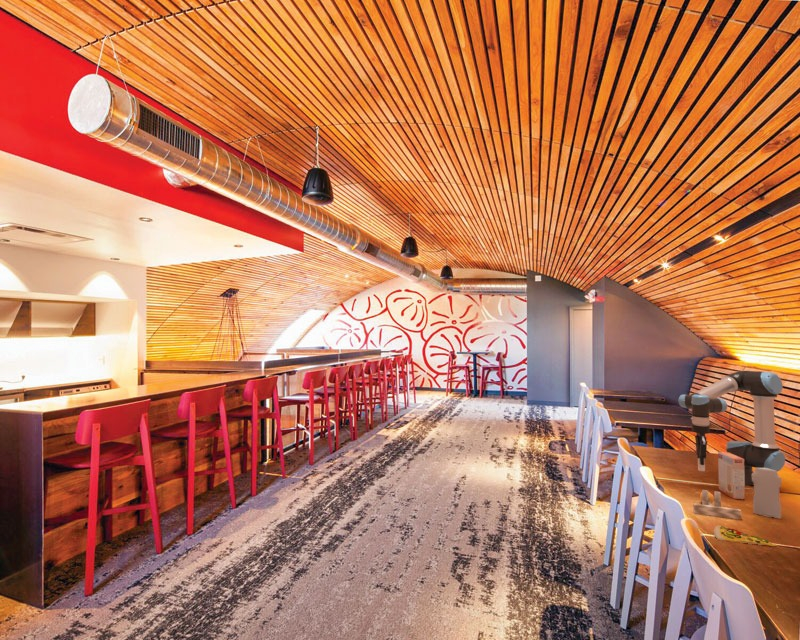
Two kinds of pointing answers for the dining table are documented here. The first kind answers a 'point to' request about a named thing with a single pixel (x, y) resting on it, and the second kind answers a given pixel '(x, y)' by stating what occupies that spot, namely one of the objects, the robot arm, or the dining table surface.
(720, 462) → the cracker box
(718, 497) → the pin
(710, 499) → the ball
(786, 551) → the dining table surface
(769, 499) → the tall pale column
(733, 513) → the back wall
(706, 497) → the pin
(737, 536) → the pizza slice
